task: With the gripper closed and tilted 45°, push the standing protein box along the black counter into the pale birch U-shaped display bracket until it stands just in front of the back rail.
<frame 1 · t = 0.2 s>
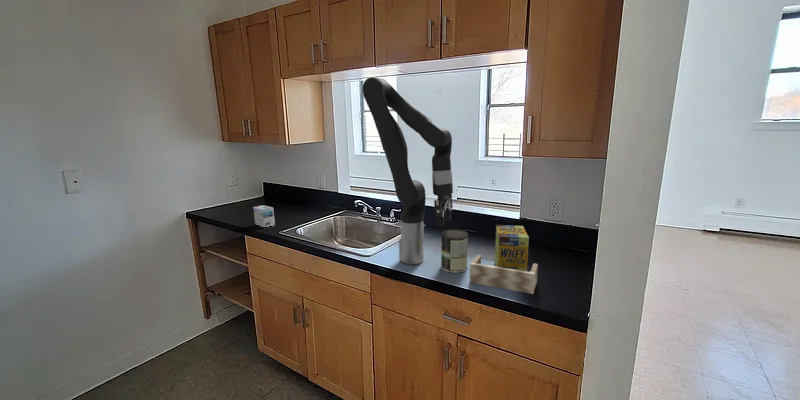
hand: (444, 223, 142), 18 cm above the worktop, tool pointing down, fingers open, 8 cm apart
coffee can: (454, 268, 144), on the worktop
light bulb box: (265, 226, 207), on the worktop
display bracket: (500, 287, 126), on the worktop
protein box: (509, 269, 142), on the worktop
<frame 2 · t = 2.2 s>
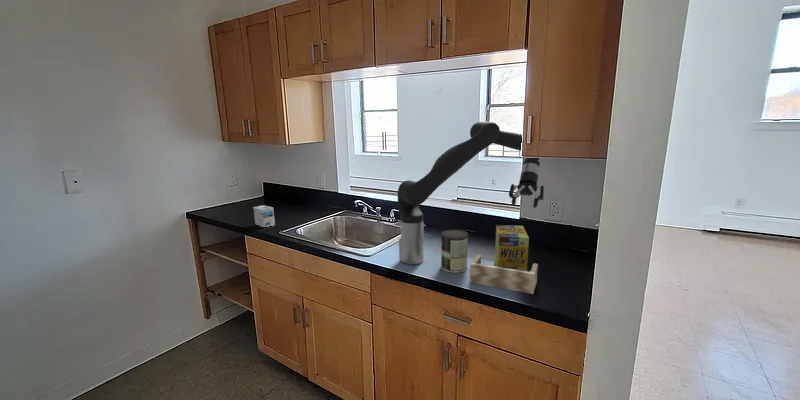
hand: (524, 206, 157), 20 cm above the worktop, tool tilted 45°, fingers open, 8 cm apart
nothing on the worktop moved.
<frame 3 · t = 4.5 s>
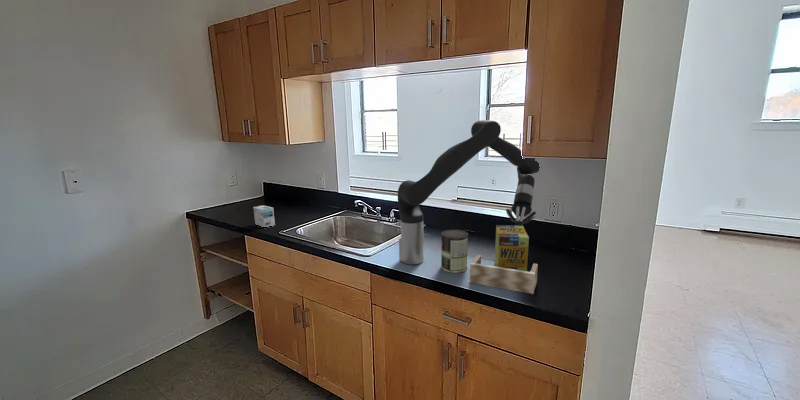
hand: (517, 230, 154), 11 cm above the worktop, tool tilted 45°, fingers closed
nothing on the worktop moved.
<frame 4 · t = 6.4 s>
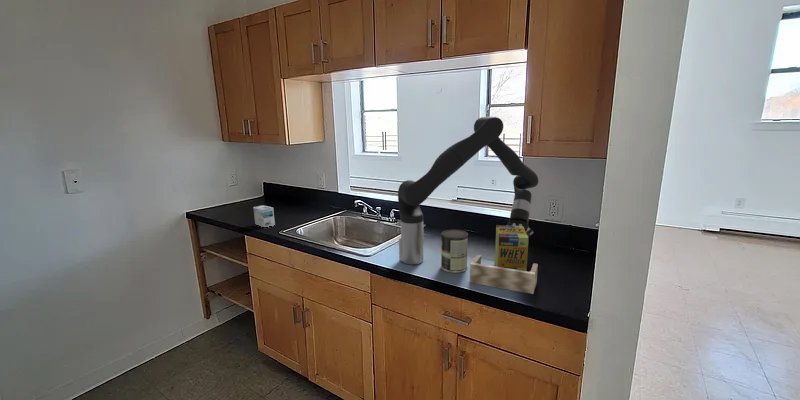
hand: (513, 248, 148), 5 cm above the worktop, tool tilted 45°, fingers closed
protein box: (509, 269, 141), on the worktop, touching gripper
everything else where it was.
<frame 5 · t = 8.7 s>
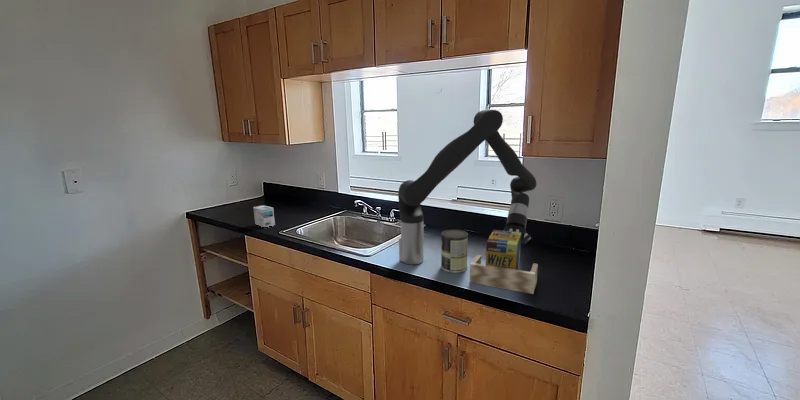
hand: (510, 255, 140), 5 cm above the worktop, tool tilted 45°, fingers closed
protein box: (502, 277, 135), on the worktop, touching gripper
everything else where it was.
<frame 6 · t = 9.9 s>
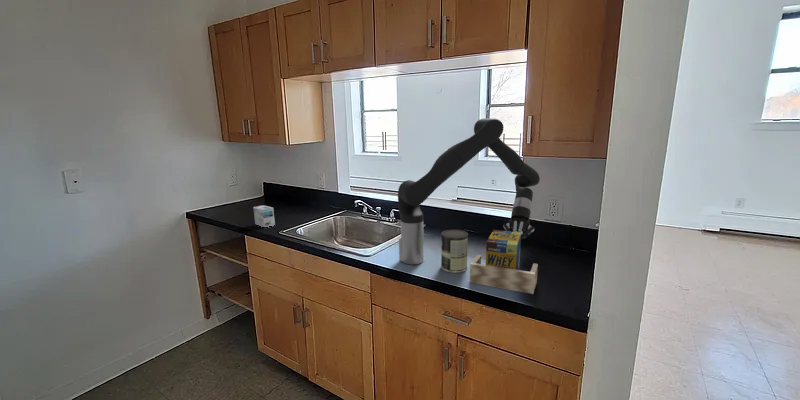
hand: (515, 246, 149), 6 cm above the worktop, tool tilted 45°, fingers closed
protein box: (502, 277, 135), on the worktop
everything else where it was.
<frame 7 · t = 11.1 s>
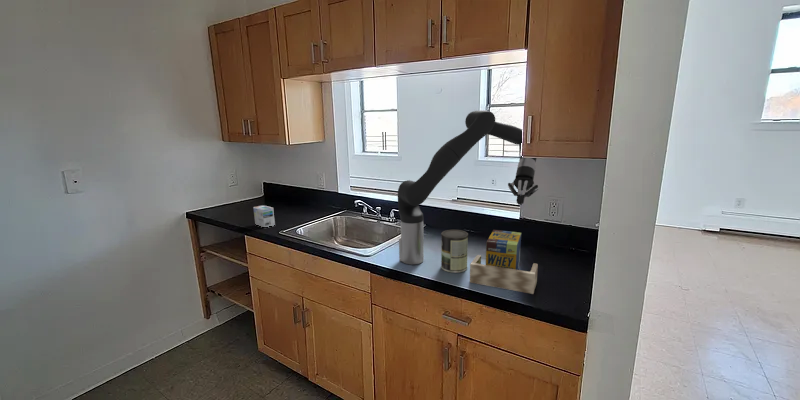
hand: (519, 203, 153), 22 cm above the worktop, tool tilted 45°, fingers closed
nothing on the worktop moved.
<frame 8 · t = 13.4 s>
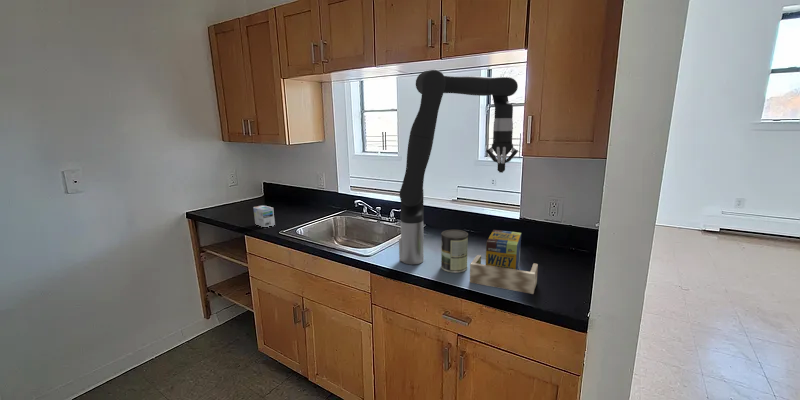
hand: (501, 172, 152), 35 cm above the worktop, tool pointing down, fingers closed
nothing on the worktop moved.
at the end: protein box inside the target area (1.1 cm from its centre), on the worktop; protein box tilted 0° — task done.
